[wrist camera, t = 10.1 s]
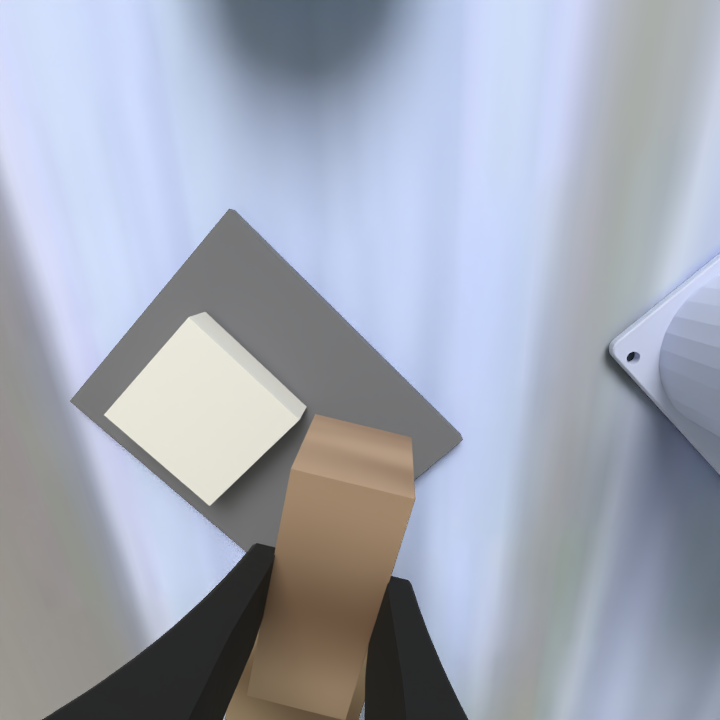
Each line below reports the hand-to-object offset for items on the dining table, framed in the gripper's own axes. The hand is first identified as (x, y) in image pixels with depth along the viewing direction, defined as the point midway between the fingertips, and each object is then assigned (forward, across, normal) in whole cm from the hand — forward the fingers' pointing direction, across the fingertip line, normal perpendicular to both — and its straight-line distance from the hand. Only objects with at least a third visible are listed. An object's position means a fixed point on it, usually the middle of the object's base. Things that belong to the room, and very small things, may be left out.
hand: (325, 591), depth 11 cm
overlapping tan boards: (+3, 0, +3) cm, 4 cm away
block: (+7, +5, -3) cm, 9 cm away
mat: (+9, +4, 0) cm, 10 cm away
